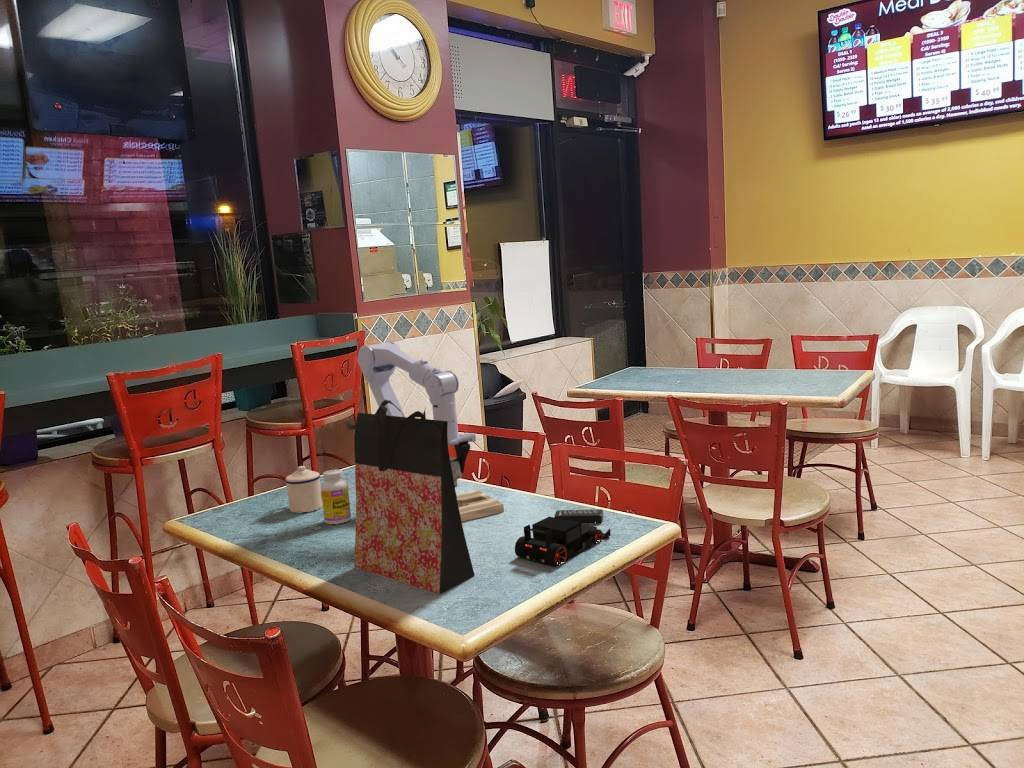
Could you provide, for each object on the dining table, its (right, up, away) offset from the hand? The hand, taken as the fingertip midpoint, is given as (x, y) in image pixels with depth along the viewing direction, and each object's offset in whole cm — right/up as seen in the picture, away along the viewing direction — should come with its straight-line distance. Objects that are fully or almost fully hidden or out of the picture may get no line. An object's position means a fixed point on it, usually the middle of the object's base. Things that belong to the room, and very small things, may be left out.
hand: (450, 474), depth 190 cm
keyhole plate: (+3, -9, +3) cm, 10 cm away
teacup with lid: (-41, -11, +16) cm, 46 cm away
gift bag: (-6, -16, -33) cm, 37 cm away
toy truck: (+26, -13, -28) cm, 41 cm away
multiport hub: (+31, -10, -12) cm, 35 cm away
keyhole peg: (0, -3, 0) cm, 3 cm away
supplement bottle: (-29, -12, +3) cm, 31 cm away
